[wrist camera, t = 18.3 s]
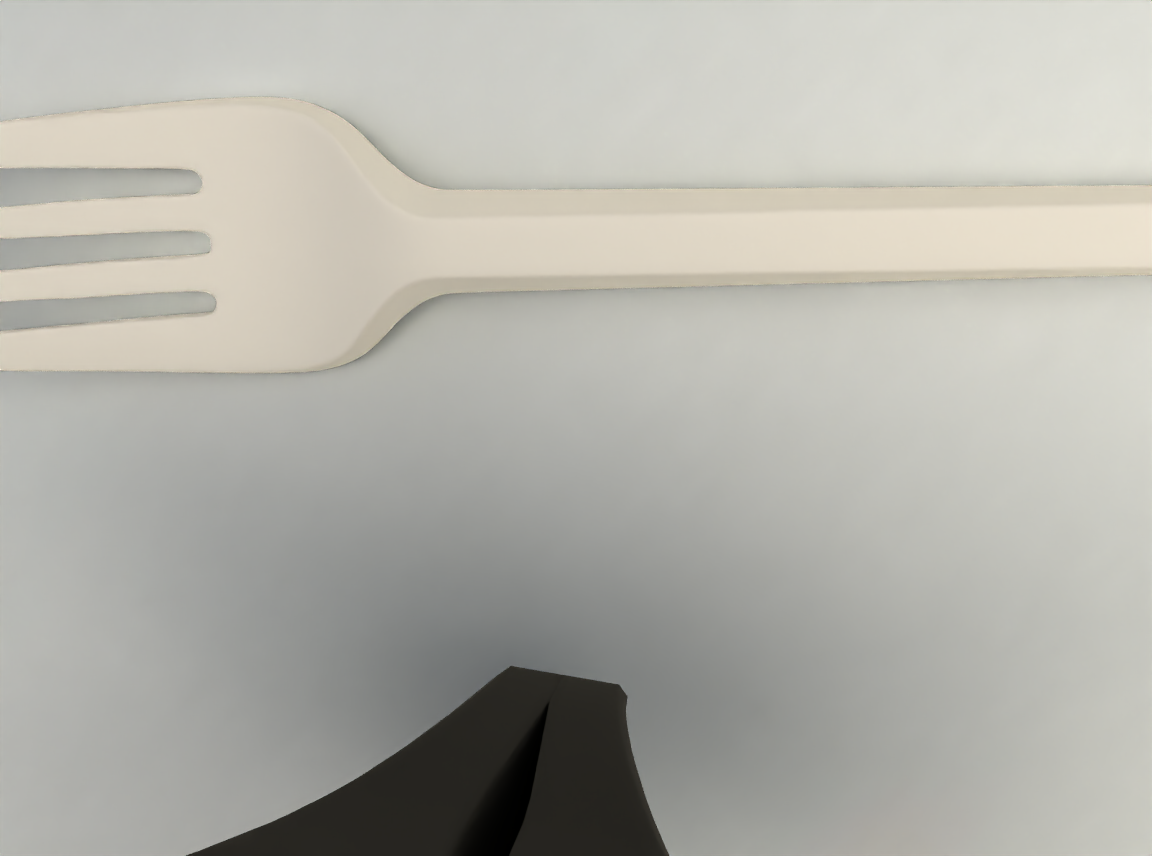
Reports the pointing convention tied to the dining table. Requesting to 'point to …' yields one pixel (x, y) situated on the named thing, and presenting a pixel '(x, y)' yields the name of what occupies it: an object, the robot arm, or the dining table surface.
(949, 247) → the fork
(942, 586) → the dining table surface
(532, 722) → the robot arm
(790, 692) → the dining table surface
